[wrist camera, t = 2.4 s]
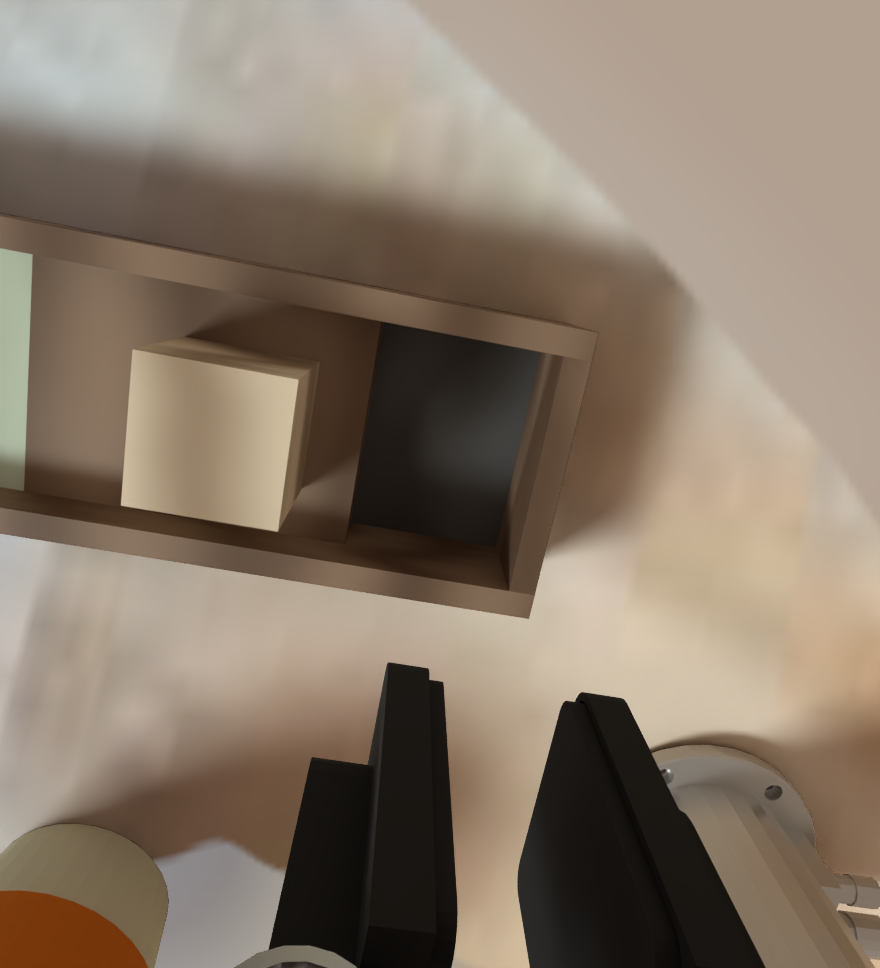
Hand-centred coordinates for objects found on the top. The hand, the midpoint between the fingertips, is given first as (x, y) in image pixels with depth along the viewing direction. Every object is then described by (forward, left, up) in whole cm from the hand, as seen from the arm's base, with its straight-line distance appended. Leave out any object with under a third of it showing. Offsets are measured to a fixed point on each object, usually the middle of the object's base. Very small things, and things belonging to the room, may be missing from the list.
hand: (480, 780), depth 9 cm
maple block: (+8, 0, -19) cm, 21 cm away
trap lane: (+14, 0, -22) cm, 26 cm away
